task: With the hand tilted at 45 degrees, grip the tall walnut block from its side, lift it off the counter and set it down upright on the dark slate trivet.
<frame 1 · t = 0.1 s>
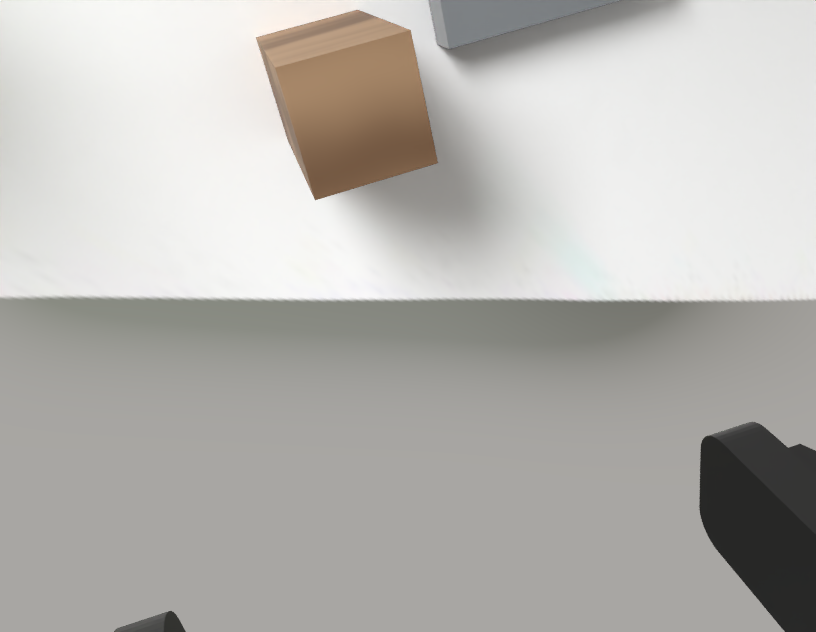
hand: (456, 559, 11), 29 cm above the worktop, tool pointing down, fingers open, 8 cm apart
walnut block: (321, 76, 35), on the worktop
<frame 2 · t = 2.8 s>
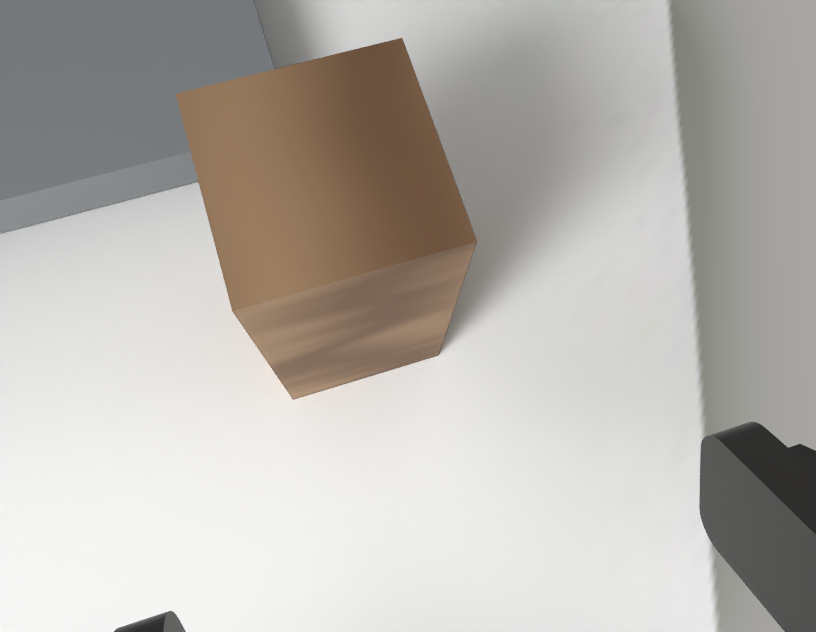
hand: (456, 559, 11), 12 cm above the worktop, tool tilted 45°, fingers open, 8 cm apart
walnut block: (345, 308, 24), on the worktop
slate trivet: (99, 57, 27), on the worktop
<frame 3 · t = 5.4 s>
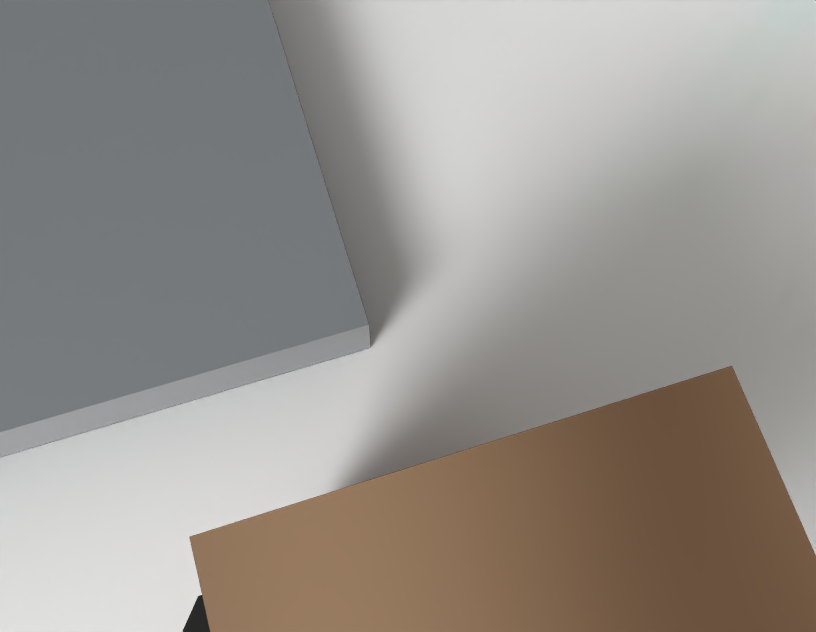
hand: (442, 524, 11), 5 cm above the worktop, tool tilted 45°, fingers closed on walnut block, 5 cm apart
walnut block: (452, 611, 15), on the worktop, touching gripper
slate trivet: (65, 189, 18), on the worktop
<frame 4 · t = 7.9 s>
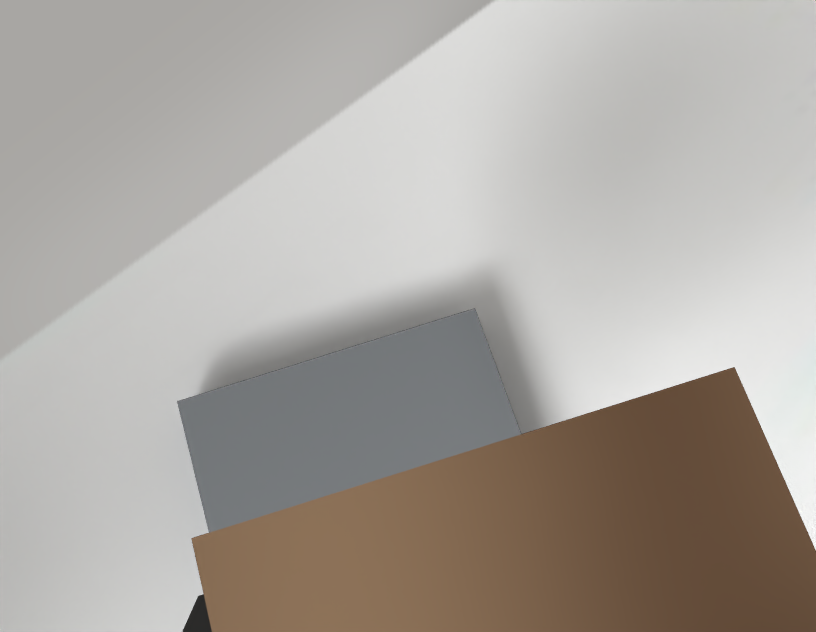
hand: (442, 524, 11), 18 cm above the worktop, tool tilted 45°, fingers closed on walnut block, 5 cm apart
walnut block: (453, 612, 15), point 13 cm above the worktop, touching gripper
slate trivet: (377, 506, 28), on the worktop
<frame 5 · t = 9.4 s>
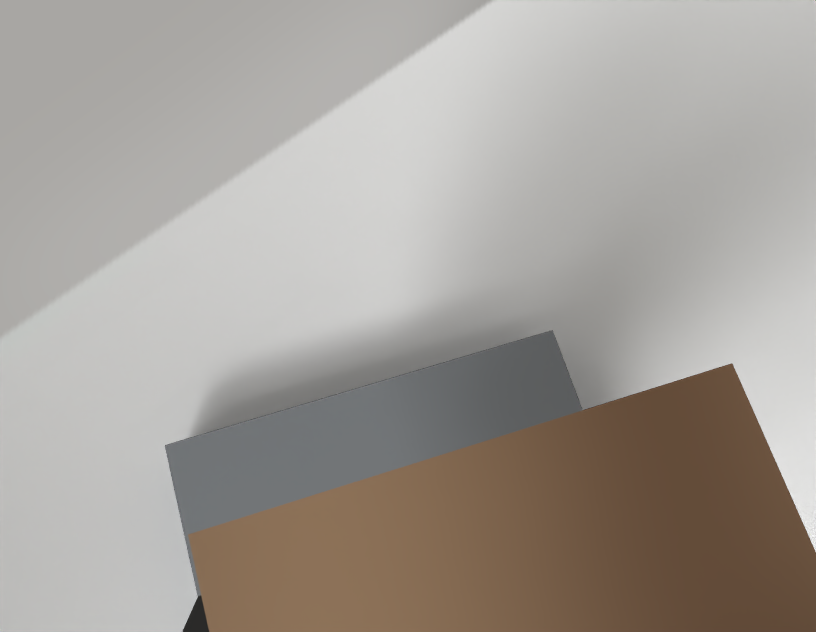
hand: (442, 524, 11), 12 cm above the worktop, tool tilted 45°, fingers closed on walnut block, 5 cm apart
walnut block: (452, 610, 15), point 7 cm above the worktop, touching gripper
slate trivet: (421, 584, 22), on the worktop
when the fingers open (8 cm above the worktop, at t = 10.5 s): walnut block drops 1 cm, resting on slate trivet.
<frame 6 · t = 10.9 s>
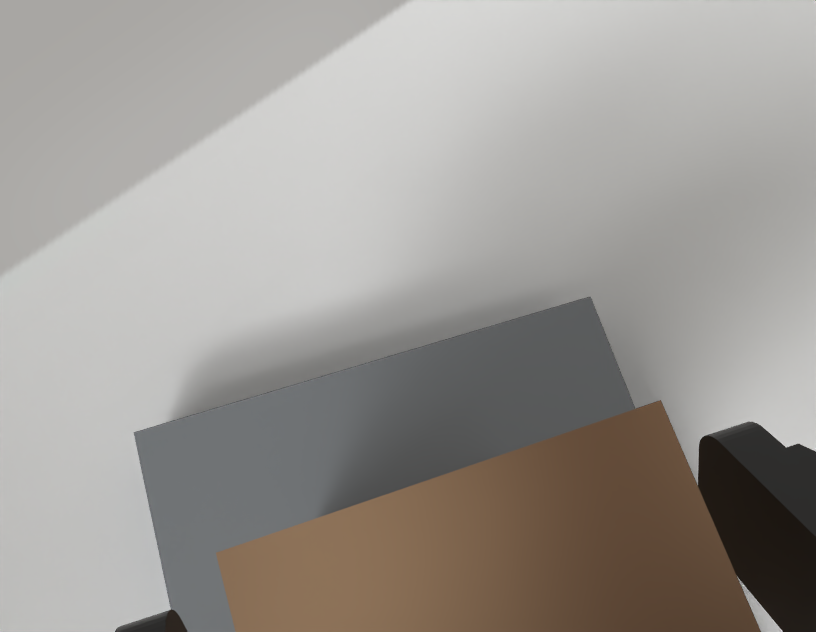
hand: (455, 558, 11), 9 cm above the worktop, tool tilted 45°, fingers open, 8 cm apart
walnut block: (444, 608, 17), point 2 cm above the worktop, touching slate trivet
slate trivet: (438, 596, 18), on the worktop
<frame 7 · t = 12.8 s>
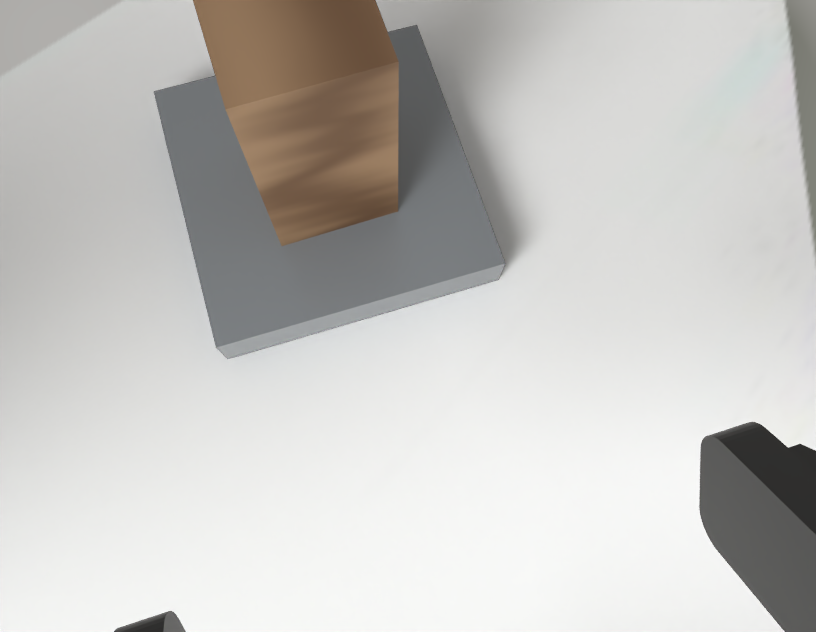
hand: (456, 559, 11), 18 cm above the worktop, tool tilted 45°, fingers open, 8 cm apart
walnut block: (323, 176, 30), point 2 cm above the worktop, touching slate trivet
slate trivet: (328, 195, 32), on the worktop
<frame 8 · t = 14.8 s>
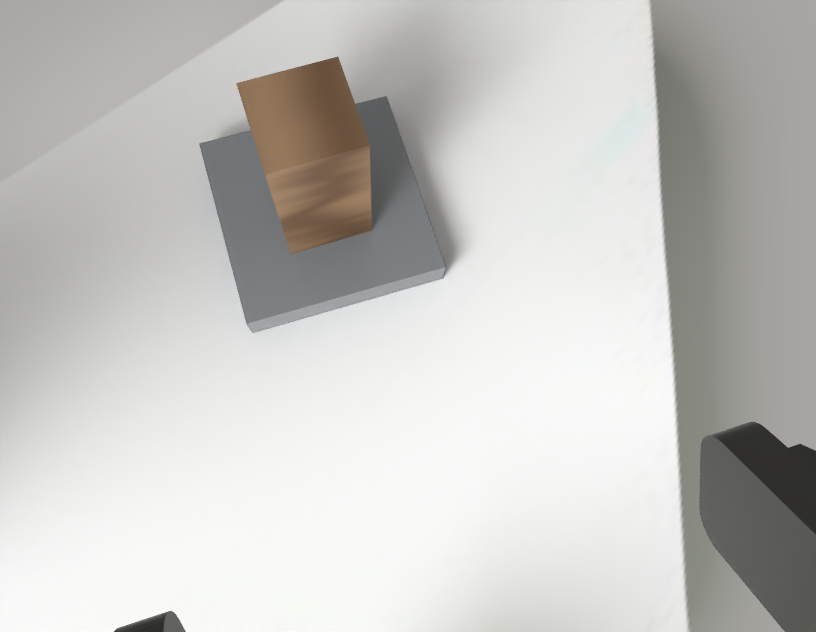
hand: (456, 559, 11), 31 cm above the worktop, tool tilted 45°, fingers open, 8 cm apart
walnut block: (319, 205, 43), point 2 cm above the worktop, touching slate trivet
slate trivet: (322, 217, 45), on the worktop
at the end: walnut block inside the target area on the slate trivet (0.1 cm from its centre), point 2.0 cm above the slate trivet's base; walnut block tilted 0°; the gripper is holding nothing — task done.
